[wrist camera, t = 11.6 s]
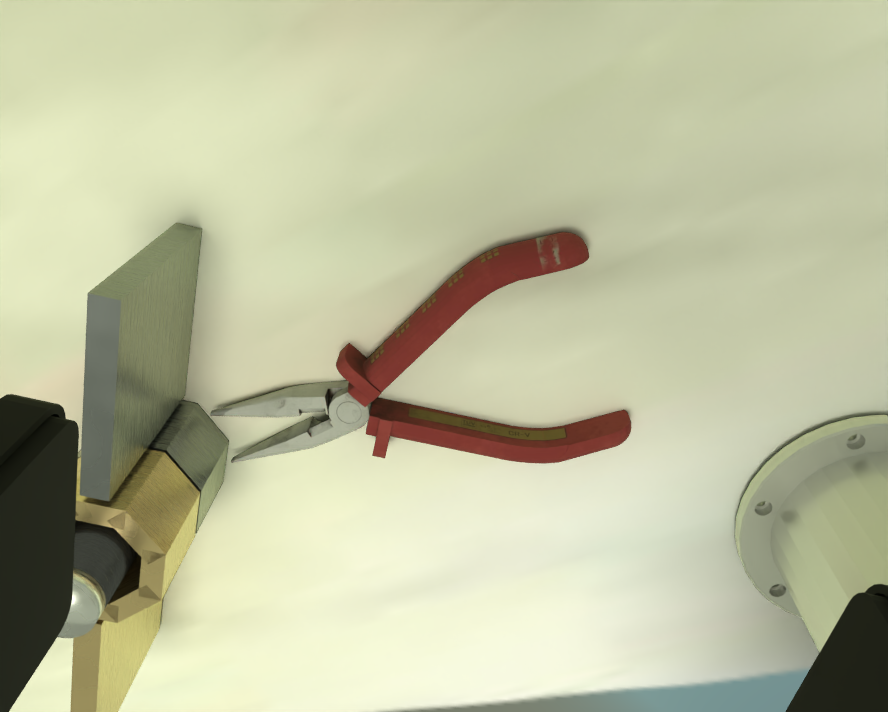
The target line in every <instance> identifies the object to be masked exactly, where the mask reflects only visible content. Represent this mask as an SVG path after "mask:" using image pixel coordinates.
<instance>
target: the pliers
mask: <svg viewBox="0 0 888 712" xmlns="http://www.w3.org/2000/svg"><path fill="white" fill-rule="evenodd" d="M588 258H589V252H588V248H587V246H586V244H585V242H584V241H583V240H582V238H580V237H579V236H577V235H575V234H573V233H567V232H560V233H556V234H552V235H547V236H543V237H539V238H534V239H530V240H526V241H522V242H517V243H513V244H509V245H504V246H500V247H496V248H494V249H492V250H490V251H488V252H486V253H484V254H482V255H480V256H479V257H477V258H476V259H474V260H473V261H471V262H470V263H468V264H467V265H466V266H464V267H463V268H461V269H460V270H459V271H458V272H456V273H455V274H454V275H453V276H452V277H451V278H449V279H448V280H447V281H446V282H445V283H444V284H443V285H442V286H441V287H440V288H439V289H438V290H437V291H436V292H435V293H434V294H433V295H432V296H431V297H430V298H429V299H428V300H427V301H426V302H425V303H424V304H423V305H422V306H421V307H420V308H419V309H418V310H417V311H416V312H415V313H414V314H413V315H412V316H411V317H410V318H409V319H408V320H407V321H405V322H404V323H403V324H402V325H401V326H400V327H399V328H398V329H397V330H396V331H395V332H394V333H393V334H392V335H391V336H390V337H389V338H388V339H387V340H386V341H385V342H384V343H383V344H382V345H381V346H380V347H379V348H378V349H377V350H376V351H375V352H374V353H373V354H372V355H371V356H370V357H369V358H368V359H367V358H366V357H365V356H364V355H363V354H362V353H360V352H359V351H358V350H357V349H356V348H355V347H353V346H352V345H351V344H350V343H349V344H348V345H347V346H346V347H345V348H344V349H343V350H342V351H341V352H340V354H339V357H338V360H337V362H336V367H337V369H338V371H339V373H340V374H341V375H342V376H343V377H344V378H345V379H346V381H334V382H321V383H312V384H305V385H297V386H293V387H288V388H285V389H282V390H279V391H275V392H272V393H269V394H265V395H262V396H259V397H256V398H252V399H249V400H246V401H243V402H239V403H236V404H233V405H229V406H226V407H223V408H220V409H216V410H213V411H211V413H210V415H211V416H245V417H291V416H300V415H301V414H302V413H307V412H323V411H326V415H328V414H329V417H330V419H329V420H327V421H324V422H320V421H318V420H316V419H315V418H314V417H313V416H312V417H310V418H308V419H306V420H304V421H302V422H300V423H297V424H295V425H293V426H291V427H289V428H287V429H286V430H284V431H282V432H280V433H278V434H276V435H274V436H272V437H271V438H269V439H267V440H265V441H263V442H261V443H259V444H257V445H256V446H254V447H252V448H250V449H248V450H246V451H244V452H242V453H240V454H239V455H237V456H235V457H233V458H232V460H231V462H232V463H233V462H238V461H244V460H249V459H255V458H260V457H266V456H271V455H277V454H282V453H288V452H293V451H299V450H304V449H309V448H313V447H316V446H319V445H321V444H324V443H327V442H329V441H332V440H334V439H337V438H339V437H341V436H343V435H346V434H348V433H350V432H352V431H354V430H357V429H359V428H361V427H362V426H364V425H365V424H366V422H367V421H368V423H367V428H366V434H367V435H372V436H376V441H375V446H374V451H373V455H372V456H377V457H382V458H385V456H386V451H387V446H388V442H389V437H390V436H392V437H397V438H402V439H407V440H412V441H417V442H421V443H426V444H431V445H436V446H441V447H446V448H450V449H455V450H460V451H465V452H470V453H475V454H479V455H484V456H489V457H494V458H499V459H504V460H509V461H516V462H526V463H555V462H562V461H565V460H569V459H572V458H576V457H580V456H583V455H587V454H590V453H594V452H598V451H601V450H605V449H608V448H612V447H616V446H618V445H620V444H621V443H623V442H624V441H625V440H626V439H627V438H628V436H629V434H630V432H631V421H630V418H629V415H628V413H627V412H626V411H625V410H621V411H617V412H613V413H609V414H605V415H602V416H598V417H594V418H590V419H587V420H583V421H579V422H575V423H572V424H568V425H564V426H558V427H552V428H524V427H516V426H510V425H505V424H501V423H496V422H491V421H486V420H482V419H477V418H472V417H468V416H463V415H458V414H454V413H449V412H444V411H439V410H435V409H430V408H425V407H421V406H416V405H411V404H407V403H402V402H397V401H392V400H387V399H382V398H378V396H379V395H380V394H381V392H382V391H383V390H384V389H385V388H387V387H388V386H389V385H390V384H391V383H392V382H393V381H394V380H395V379H396V378H397V377H398V376H399V375H400V374H401V373H402V372H403V371H404V370H405V369H406V368H408V367H409V366H410V365H411V364H412V363H413V362H414V361H415V360H416V359H417V358H418V357H419V356H420V355H421V354H422V353H423V352H424V351H425V350H426V349H428V348H429V347H430V346H431V345H432V344H433V343H434V342H435V341H436V340H437V339H438V338H439V337H440V336H441V335H442V334H443V333H444V332H445V331H446V330H448V329H449V328H450V327H451V326H452V325H453V324H454V323H455V322H456V321H457V320H458V319H459V318H460V317H461V316H462V315H463V314H464V313H465V312H466V311H468V310H469V309H470V308H471V307H472V306H473V305H475V304H476V303H477V302H478V301H480V300H481V299H483V298H484V297H486V296H487V295H488V294H490V293H492V292H494V291H495V290H497V289H499V288H501V287H503V286H506V285H508V284H510V283H513V282H516V281H518V280H523V279H528V278H532V277H536V276H540V275H545V274H549V273H553V272H557V271H561V270H565V269H569V268H572V267H575V266H578V265H580V264H582V263H584V262H585V261H587V260H588Z"/></svg>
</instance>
